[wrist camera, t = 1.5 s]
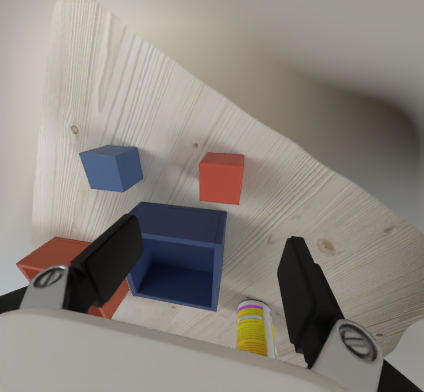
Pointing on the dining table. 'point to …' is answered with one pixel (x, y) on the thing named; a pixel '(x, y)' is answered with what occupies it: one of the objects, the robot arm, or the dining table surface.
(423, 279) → the dining table surface
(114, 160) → the blue block
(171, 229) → the blue bin
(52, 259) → the red bin
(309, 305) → the robot arm
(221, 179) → the red block
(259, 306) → the supplement bottle
